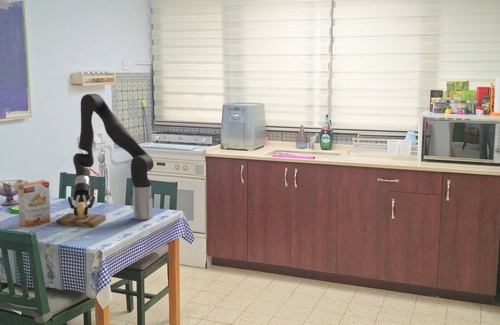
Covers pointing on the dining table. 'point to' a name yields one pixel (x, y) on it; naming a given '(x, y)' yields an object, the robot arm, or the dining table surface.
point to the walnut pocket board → (81, 220)
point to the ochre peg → (81, 210)
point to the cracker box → (34, 203)
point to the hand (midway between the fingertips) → (80, 214)
